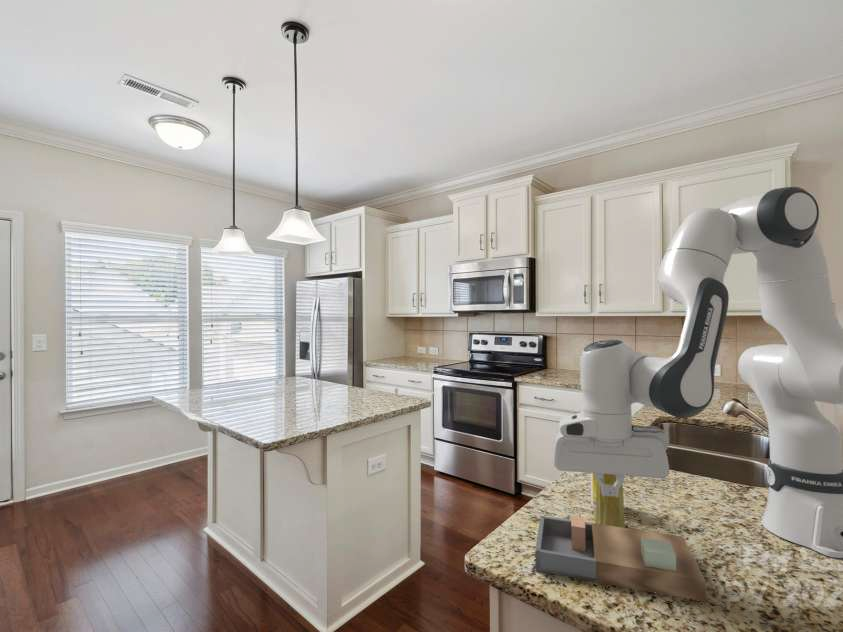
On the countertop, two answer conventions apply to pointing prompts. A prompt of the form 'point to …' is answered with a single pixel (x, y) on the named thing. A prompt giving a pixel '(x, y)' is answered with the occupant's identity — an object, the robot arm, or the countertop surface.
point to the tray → (563, 550)
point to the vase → (609, 505)
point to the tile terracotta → (578, 533)
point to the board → (627, 568)
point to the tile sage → (658, 554)
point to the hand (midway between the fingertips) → (610, 495)
